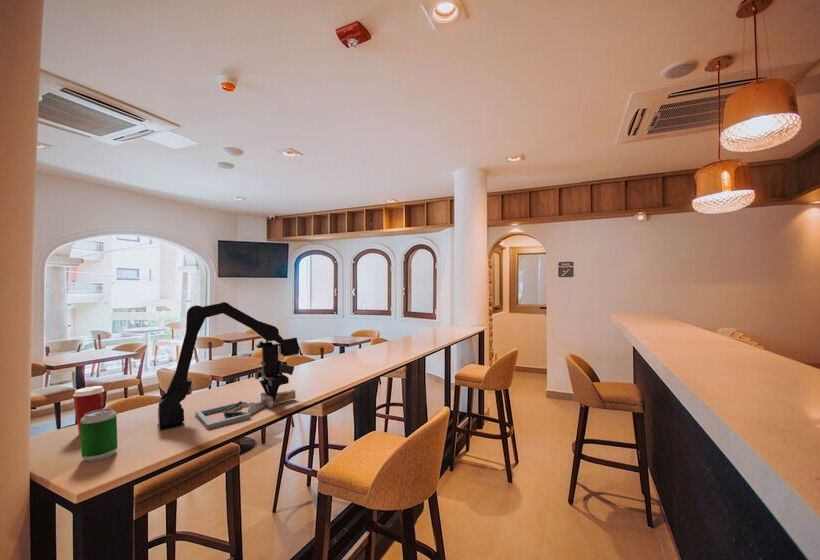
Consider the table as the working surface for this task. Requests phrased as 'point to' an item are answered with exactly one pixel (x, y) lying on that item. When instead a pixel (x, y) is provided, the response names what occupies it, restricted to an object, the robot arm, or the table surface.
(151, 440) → the table surface
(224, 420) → the tile frame
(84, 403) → the paper cup
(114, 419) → the soda can
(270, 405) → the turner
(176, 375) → the robot arm
